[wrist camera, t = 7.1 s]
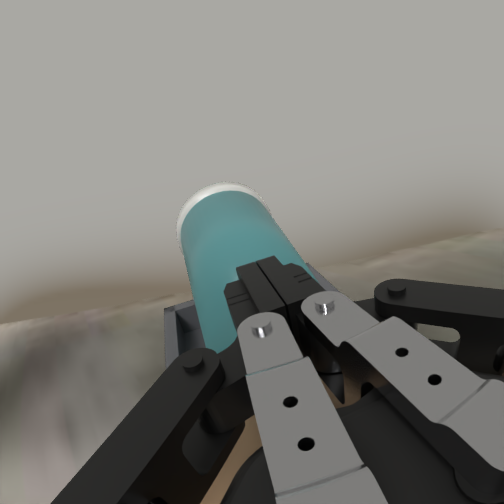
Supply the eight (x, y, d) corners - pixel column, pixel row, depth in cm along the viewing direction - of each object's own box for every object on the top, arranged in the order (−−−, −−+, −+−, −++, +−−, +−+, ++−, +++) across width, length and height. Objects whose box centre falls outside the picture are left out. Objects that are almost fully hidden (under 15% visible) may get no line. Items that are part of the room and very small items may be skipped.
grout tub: (185, 317, 12) (164, 198, 21) (222, 396, 16) (189, 274, 25) (344, 265, 13) (261, 171, 22) (337, 355, 17) (272, 249, 26)
